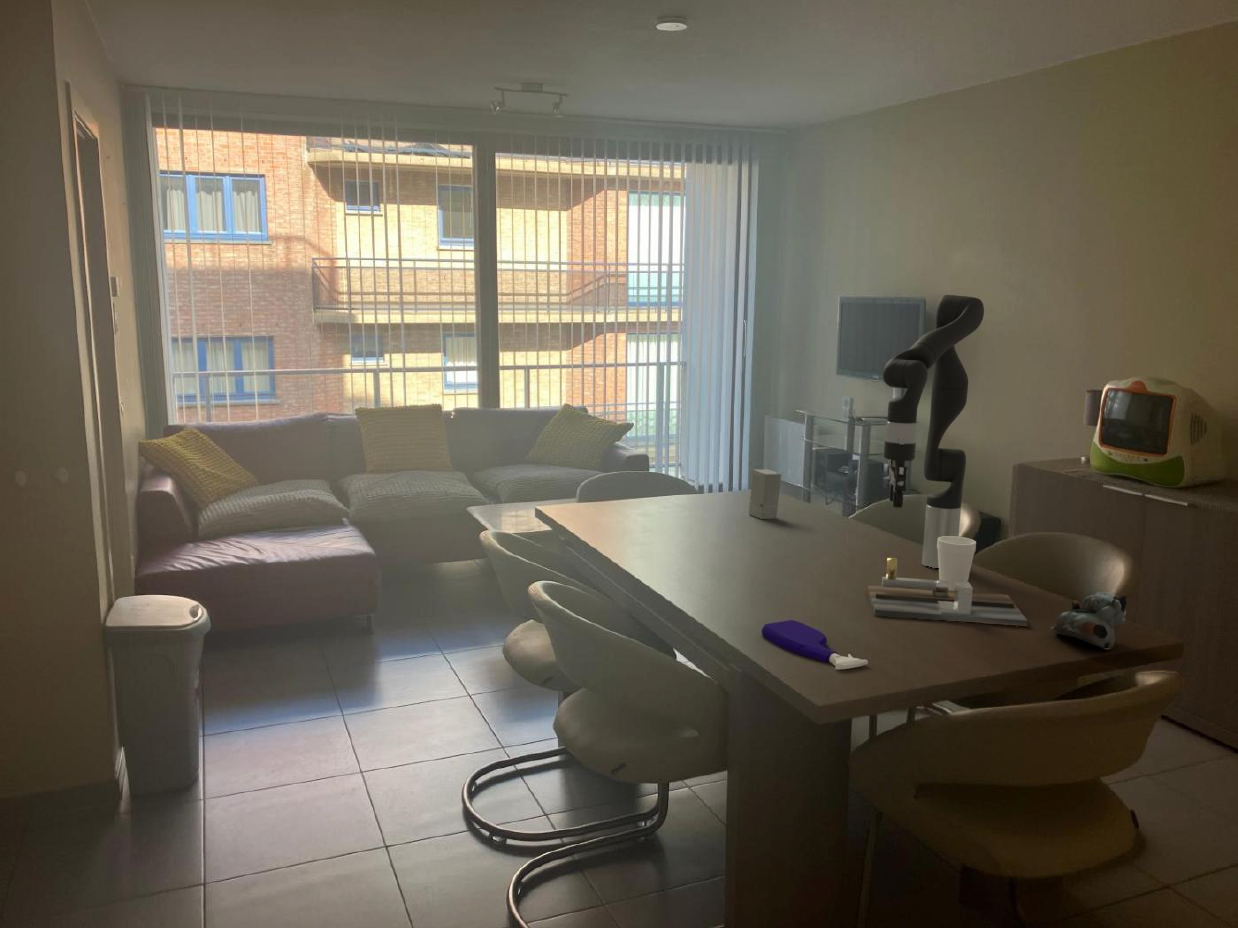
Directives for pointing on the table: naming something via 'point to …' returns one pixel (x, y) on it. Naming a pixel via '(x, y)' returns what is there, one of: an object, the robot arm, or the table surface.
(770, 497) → the skincare box
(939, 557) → the foam cup
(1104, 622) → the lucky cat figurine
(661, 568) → the table surface
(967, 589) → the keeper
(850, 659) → the spray bottle
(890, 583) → the swing bar
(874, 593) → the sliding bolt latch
